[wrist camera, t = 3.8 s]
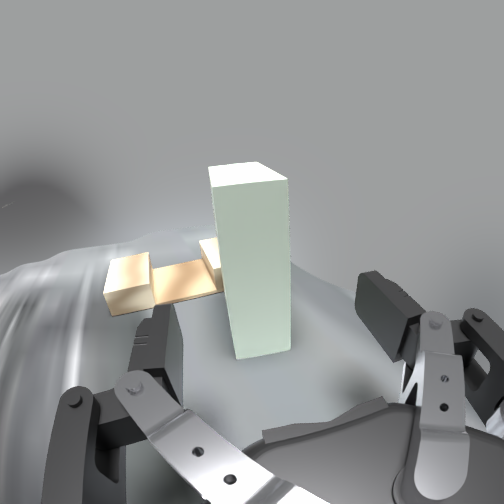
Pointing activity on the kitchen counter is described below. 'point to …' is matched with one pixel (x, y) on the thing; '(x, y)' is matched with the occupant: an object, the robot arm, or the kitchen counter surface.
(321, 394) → the kitchen counter surface
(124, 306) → the slot board
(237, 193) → the tall mint green pillar
